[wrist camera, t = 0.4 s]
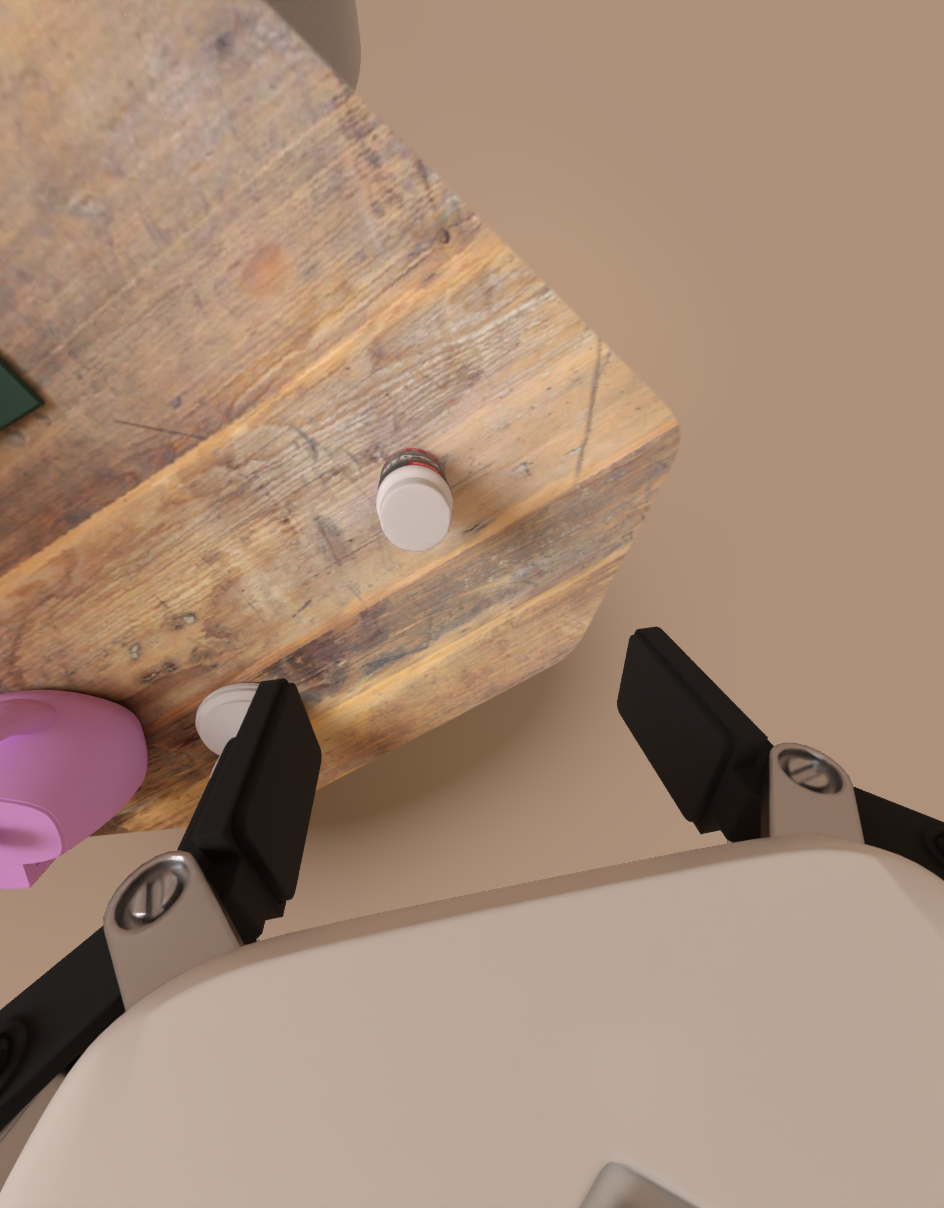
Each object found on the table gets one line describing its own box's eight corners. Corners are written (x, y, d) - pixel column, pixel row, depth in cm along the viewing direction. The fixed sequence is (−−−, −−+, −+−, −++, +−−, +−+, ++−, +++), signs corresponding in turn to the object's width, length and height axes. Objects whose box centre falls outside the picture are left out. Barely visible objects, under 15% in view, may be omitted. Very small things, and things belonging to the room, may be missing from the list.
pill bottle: (439, 442, 28) (452, 469, 21) (449, 506, 31) (463, 549, 24) (373, 452, 28) (363, 482, 21) (388, 516, 30) (384, 563, 23)
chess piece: (177, 725, 38) (64, 909, 25) (237, 664, 35) (146, 835, 23) (270, 765, 42) (214, 937, 30) (329, 714, 40) (296, 878, 27)
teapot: (149, 650, 33) (50, 765, 24) (165, 796, 42) (99, 920, 33) (-61, 625, 29) (-277, 749, 20) (7, 791, 39) (-118, 929, 29)
